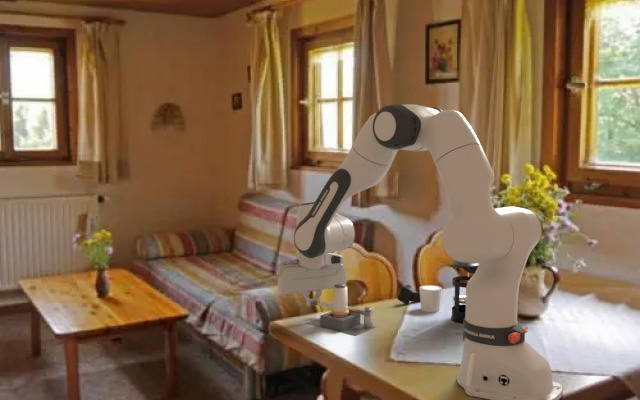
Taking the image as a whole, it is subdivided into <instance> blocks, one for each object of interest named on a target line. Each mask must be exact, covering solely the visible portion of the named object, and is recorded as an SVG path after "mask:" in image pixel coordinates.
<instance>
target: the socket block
mask: <svg viewBox="0 0 640 400" xmlns="http://www.w3.org/2000/svg"><path fill="white" fill-rule="evenodd" d="M373 320H374V318H373V314H372V316H366V315H363V323H362V322H361V314H357V313H352V312H349V315H348V316H347V317H344V318H338V317H334V316H333V315H332V310H331V311H329V312H326V313H323V314H321V315H320V317H318V318H316V319H313V320H310V321H307V322H304V324H306V325H309V326H312V327H316V328H321V329H325V330H329V331H334V332H337V333H342V334H345V335H349V336H354V337H356V336H359V335H362V334H364V333H366V332H368V331H371V330H373V329H374V330H375V329H376V328H377V326H376V325H375V326H373V324H374V323H373Z"/></svg>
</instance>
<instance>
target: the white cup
mask: <svg viewBox="0 0 640 400" xmlns="http://www.w3.org/2000/svg"><path fill="white" fill-rule="evenodd" d="M419 293H420V302H419V303H420V310H421V311H422V312H426V313H437V312H439V311H440V309H441V301H442V294H443V287H441V286H439V285H435V284H434V285H433V284H432V285H431V284H424V285H421V286H419Z"/></svg>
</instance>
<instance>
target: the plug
mask: <svg viewBox="0 0 640 400" xmlns="http://www.w3.org/2000/svg"><path fill="white" fill-rule="evenodd" d="M348 296H349V295H348V285H347V283H346V284H343V283H338V284H335V286H333V289H332V298H333V300H332V301H333V302H332V303H333V308H331V311H332V315H333V316H334V317H338V318H344V317H347V316H348V315H349V309H348V306H349V305H348V303H349V301H348Z"/></svg>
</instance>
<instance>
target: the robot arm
mask: <svg viewBox="0 0 640 400" xmlns="http://www.w3.org/2000/svg"><path fill="white" fill-rule="evenodd" d="M400 150H403V151H410V152H424V151H425V152H426V151H429V153H430V155H431V157H432V161H433V163H434V165H435V167H436V170H437V172H438V175H439V176H440V180H441V181H442V182H441V183H442V185H443V187H444V190H445V192H446V196H447V200H448V219H447V221H446V223H445V225H444V228H443V230H442V243H443V247H444V250H445V252H446V253H447V254H448V256H449V257H450V258H452V259H453V260H454V261H459V262H467V263H479V266H478V268H477V270H476V272H475V273H473V274H472V277H471V279H470V280H469V281H468V283H467V282H466V283H467V286H466V288H465V295H466V304H465V305H466V313H465V318H464V321H463V324H462V339H463V349H462V358H461V363H460V367H459V371H458V374H457V377H456V382H457V384H458V385H459V386H461V388H463V389H464V392H465V394H466V395H468V396H470V397H475V398H481V399H486V400H560V399H561V398H562V396H563V395H564V387H563V386H562V384H561V383H559V382H556V381H554V380H553V374H552V367H551V365H550V363H549V361H548V360H547V359H546V358H545V357H544V356H542V354H540V353H539V352H538V351H537V350H536V349H535V348H534V347H533V346H531V345H530V344H529V343H528V341H526V338H525V337H526V334H527V333H528V332H529V330H528V329H529V327H528V326H525V327H524V328H523V327H522V326H521V324H520V322H519V321H518V305H519V304H518V303H519V292H520V291H519V289H520V284H521V281H522V276H523V272H524V269H525V267H526V265H527V262H528V259H529V257H530V255H531V253H532V251H533V249H534V248H535V247H536V246H537V244H538V243H539V242H540V240H541V237H542V226H541V222H540V220H539V218H538V216H537V215H536V214H535V213H534V212H533V211H531V210H529V209H528V208H523V207H517V206H511V205H510V206H509V205H508V206H502V207H494V205H493V204H492V200H491V191H490V190H491V187H492V186H493V184H494V182H495V172H494V170H493V168H492V166H491V164H490V162H489V159H488V157H487V155H486V152H485V151H484V148H483V147H482V144H481V142H480V140H479V138H478V136H477V135H476V132H475V131H474V129H473V127H472V126H471V125H470V123H469V121H468V120H467V119H466V117H465V116H464V115H463V114H462V113H461V112H459V111H458V110H455V109H444V110H442V109H441V108H438V107H435V106H434V107H430V106H424V105H419V104H411V103H409V104H407V103H406V104H400V103H391V104H389V105H385V106H383V107H381V108H380V109H379V110H378V111H377V112H374V113H373V114H371V115H370V116H369V117H368V119H367V120H366V121H365V123H364V124H363V126H362V127H361V129H360V130H359V132H358V133H357V136H356V138H355V140H354V141H353V143H352V146H351V148H350V150H349V152H348V153H347V155H346V157H345V159H344V160H343V161H342V163H341V164H340V165H339V167H338V168H337V169H336V170H335V171H334V172H333V173H332V174H331V176H330V177H329V178H328V180H327V181H326V183H325V185H324V186H323V187H322V189H321V191H320V193H319V195H318V196H317V198H316V200H315V201H312V202H311V201H310V202H305V203H302V204H300V205H299V206H298V208H297V214H296V226H295V229H294V234H293V242H294V246H295V247H296V259H291V260H283V261H282V262H281V263H279V265H278V267H277V274H278V278H277V291H278V292H279V293H280V294H283V295H291V294H298V293H301V294H303V297H304V298H305V300H306V306H307V307H316V306H319V300H320V298H321V296H322V294H323V291H324V290H330V289H332V290H333V286H335V284H338V283H343V284H346V285H347V272H346V271H347V270H346V267H345V265H344V264H343V263H344V260H345V259H344V256H343V255H341V254H339V253H337V252H339V251H343V250H347V249H349V248H350V247H352V245H353V244H354V242H355V240H356V227H355V225H354V223H353V221H352V220H351V219H350V218H349V217H348V216H345V215H341V214H339V213H338V212H339V209H341V206H342V205H343V204H344V202H346V201H347V200H348V199H349V198H351V197H352V196H354V195H356V194H358V193H361V192H362V191H365V190H367V189H370V188H372V187H374V186H377V185H378V184H379V183H380V182H381V181H382V180H384V177H385V176H387V174H388V172H389V170H390V169H391V166H392V165H393V162H394V159H396V156H397V153H398V152H399V151H400ZM311 292H314V293H315V295H314V297H313V298H310V295H311Z"/></svg>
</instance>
